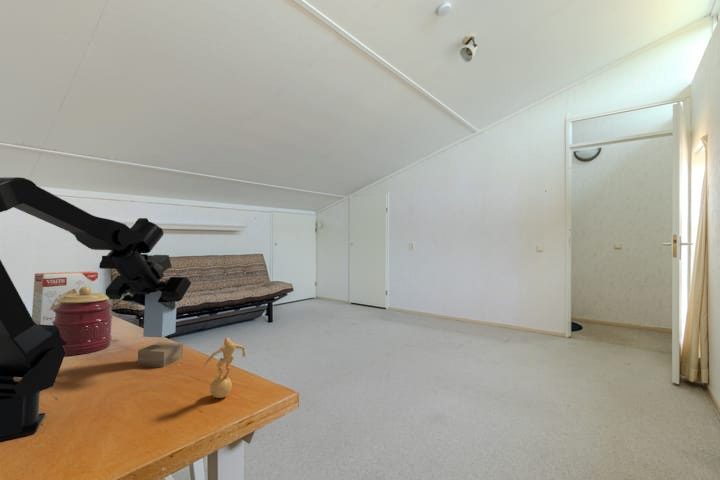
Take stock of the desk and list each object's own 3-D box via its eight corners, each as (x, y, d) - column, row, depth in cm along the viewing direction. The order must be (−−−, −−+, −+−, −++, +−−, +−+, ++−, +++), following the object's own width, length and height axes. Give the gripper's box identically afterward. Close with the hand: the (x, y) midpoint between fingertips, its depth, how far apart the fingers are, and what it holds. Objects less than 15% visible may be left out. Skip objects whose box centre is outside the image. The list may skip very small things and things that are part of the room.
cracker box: (39, 346, 92) (42, 273, 93) (29, 343, 95) (33, 272, 95) (95, 335, 105) (98, 271, 106) (85, 332, 107) (88, 270, 108)
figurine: (235, 387, 68) (237, 330, 68) (250, 396, 64) (252, 335, 64) (194, 401, 61) (196, 338, 62) (208, 411, 57) (210, 344, 58)
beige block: (163, 368, 78) (164, 351, 78) (137, 366, 79) (138, 350, 79) (182, 358, 85) (183, 343, 85) (158, 357, 86) (159, 342, 86)
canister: (78, 358, 83) (81, 290, 84) (37, 354, 85) (40, 288, 86) (122, 343, 96) (125, 285, 97) (85, 341, 98) (88, 283, 99)
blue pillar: (161, 337, 80) (164, 289, 80) (143, 336, 80) (145, 288, 81) (175, 332, 85) (177, 287, 85) (157, 331, 85) (159, 286, 86)
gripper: (187, 244, 78) (211, 284, 89) (117, 243, 80) (148, 283, 91) (163, 279, 70) (192, 319, 81) (86, 276, 72) (124, 316, 83)
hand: (164, 307), depth 84 cm, fingers closed on blue pillar, 5 cm apart
